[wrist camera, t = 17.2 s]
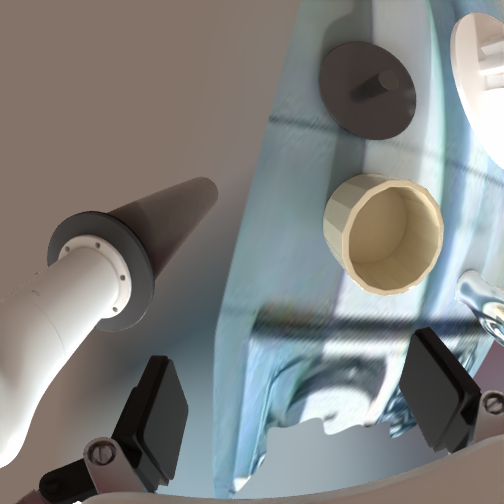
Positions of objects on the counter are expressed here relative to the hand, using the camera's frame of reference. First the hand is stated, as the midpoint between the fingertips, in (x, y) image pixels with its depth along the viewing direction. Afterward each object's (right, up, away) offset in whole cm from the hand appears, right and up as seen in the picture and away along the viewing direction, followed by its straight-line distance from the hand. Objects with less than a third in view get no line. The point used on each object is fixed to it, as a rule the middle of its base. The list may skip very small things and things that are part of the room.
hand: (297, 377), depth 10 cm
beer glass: (+34, -1, +28) cm, 44 cm away
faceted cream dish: (+13, +9, +25) cm, 29 cm away
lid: (+13, +25, +19) cm, 33 cm away
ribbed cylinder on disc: (+35, +30, +18) cm, 49 cm away
